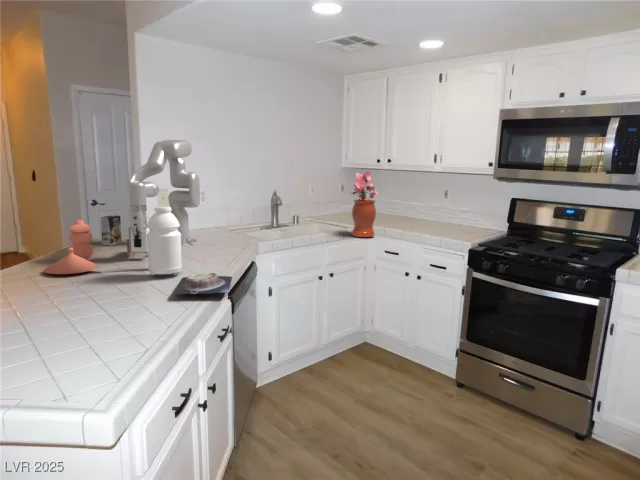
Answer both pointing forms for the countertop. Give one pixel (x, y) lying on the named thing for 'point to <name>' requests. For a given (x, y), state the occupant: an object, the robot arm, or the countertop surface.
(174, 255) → the bottle
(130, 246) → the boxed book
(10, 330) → the countertop surface
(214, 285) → the quiche
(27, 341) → the countertop surface
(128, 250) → the oak shelf
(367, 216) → the potted flower
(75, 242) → the ceramic vessels
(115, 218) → the coffee box
